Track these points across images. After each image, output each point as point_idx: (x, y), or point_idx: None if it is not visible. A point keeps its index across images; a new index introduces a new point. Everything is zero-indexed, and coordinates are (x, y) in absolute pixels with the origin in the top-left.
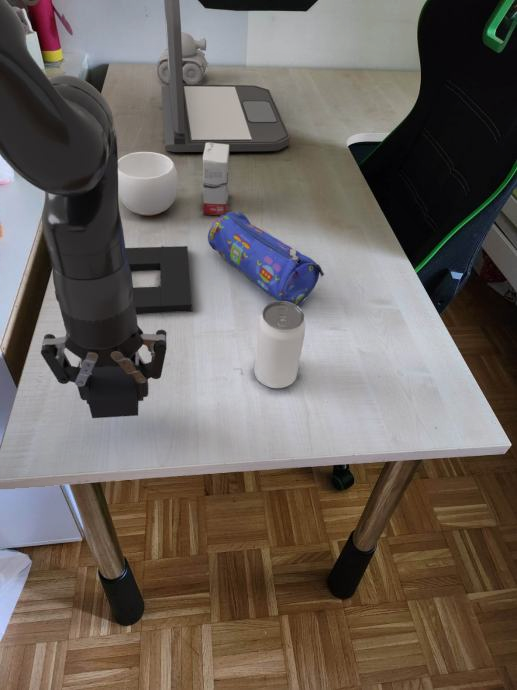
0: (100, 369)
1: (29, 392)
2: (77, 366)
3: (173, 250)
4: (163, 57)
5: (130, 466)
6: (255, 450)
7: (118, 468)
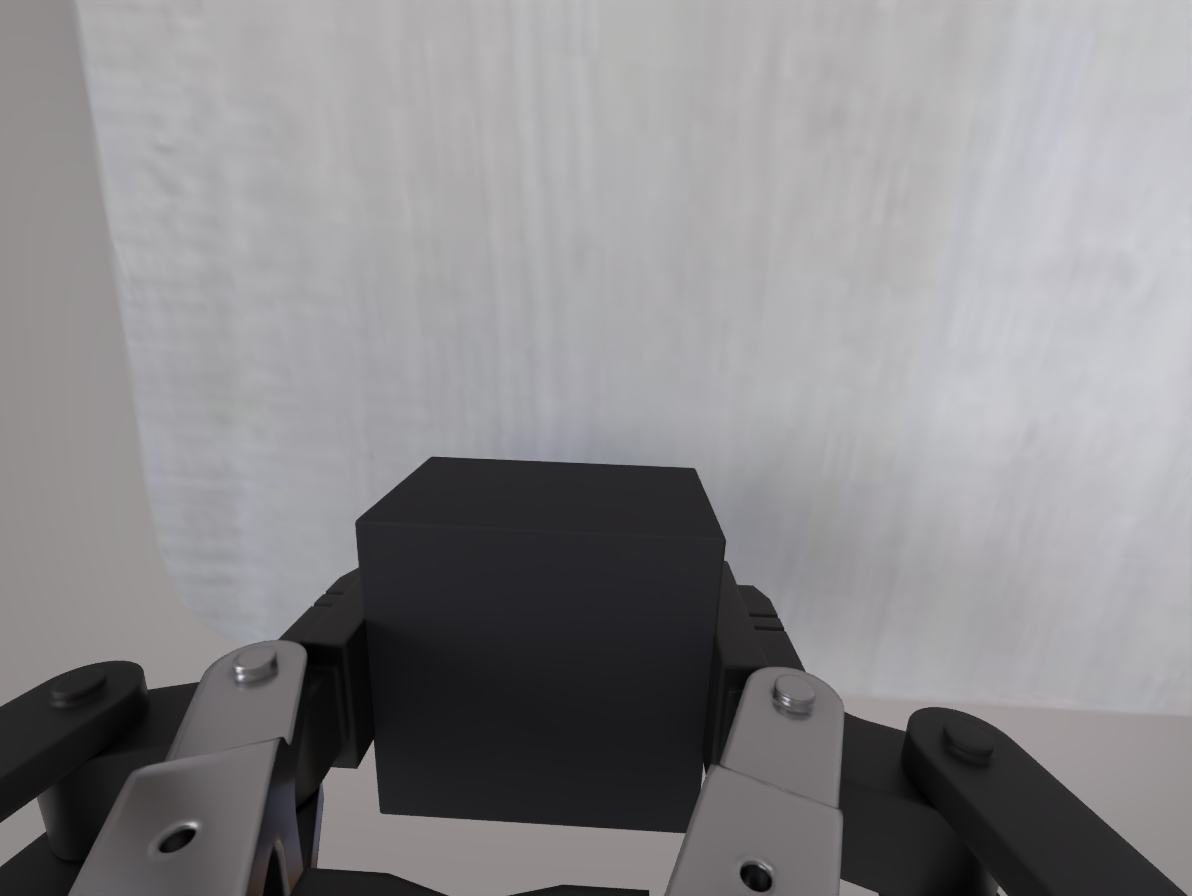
0: (428, 563)
1: (144, 256)
2: (198, 692)
3: None
4: None
5: None
6: (1105, 679)
7: None
